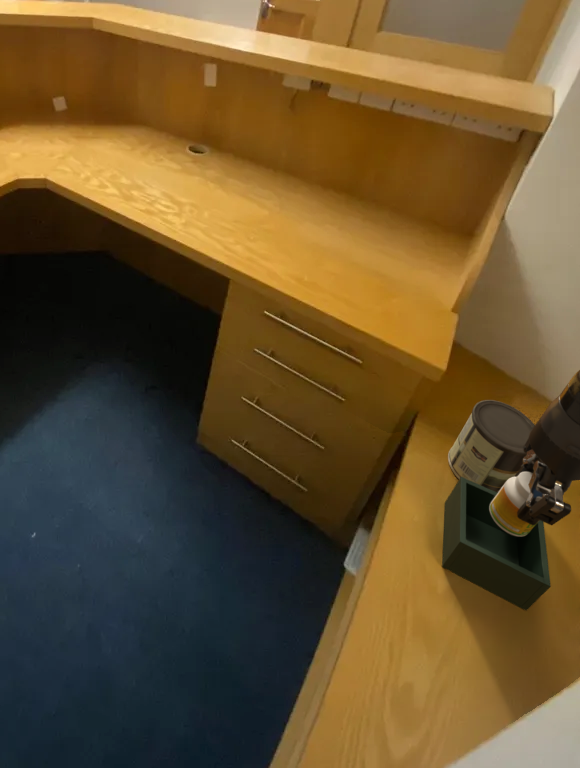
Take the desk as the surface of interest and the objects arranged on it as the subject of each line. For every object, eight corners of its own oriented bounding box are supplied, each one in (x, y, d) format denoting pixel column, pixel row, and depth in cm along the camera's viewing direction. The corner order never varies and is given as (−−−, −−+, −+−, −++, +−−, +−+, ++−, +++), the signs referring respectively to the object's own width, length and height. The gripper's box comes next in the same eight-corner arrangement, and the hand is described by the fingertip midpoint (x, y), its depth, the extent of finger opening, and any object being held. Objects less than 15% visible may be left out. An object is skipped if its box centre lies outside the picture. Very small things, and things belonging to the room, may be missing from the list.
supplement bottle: (523, 546, 76) (552, 512, 71) (483, 517, 79) (508, 483, 74) (533, 519, 79) (561, 486, 74) (494, 493, 82) (518, 459, 77)
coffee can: (511, 464, 98) (543, 420, 90) (506, 509, 91) (540, 465, 83) (451, 433, 103) (477, 389, 96) (442, 474, 96) (469, 430, 89)
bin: (520, 538, 87) (542, 512, 82) (526, 611, 78) (550, 586, 74) (444, 502, 92) (461, 476, 87) (441, 566, 83) (460, 541, 78)
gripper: (623, 497, 60) (560, 562, 69) (601, 405, 71) (548, 471, 80) (547, 465, 64) (495, 532, 72) (536, 381, 74) (492, 448, 83)
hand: (523, 500), depth 76 cm, fingers closed on supplement bottle, 5 cm apart
